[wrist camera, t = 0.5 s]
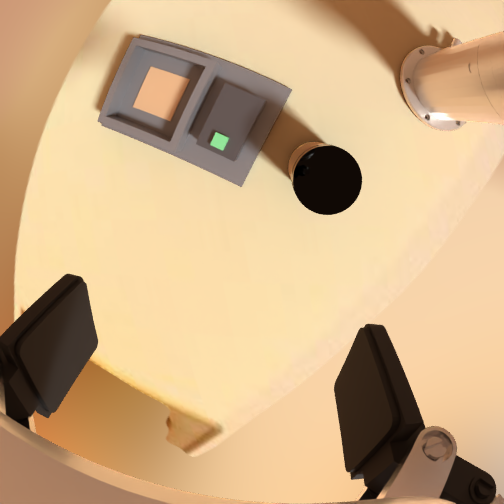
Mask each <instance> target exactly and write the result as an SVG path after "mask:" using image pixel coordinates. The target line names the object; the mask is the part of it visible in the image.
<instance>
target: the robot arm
mask: <svg viewBox="0 0 504 504" xmlns="http://www.w3.org/2000/svg"><path fill="white" fill-rule="evenodd" d="M405 80H406V81H407V83H406V81H405ZM400 82H401V88H402V91H403V95H404V97H405V100H406V102H407V104H408V105H409V107H410V109H411V110H412V112H413V113H414V114H415V115H416V116H417V118H419V119H420V120H421V121H422V122H423V123H424V124H426V125H428V126H429V127H431V128H434V129H436V130H442V131H453V130H457V129H459V128H461V127H462V126H463V125H464V124H465V123H466V122H467V121H469V122H482V123H492V124H501V125H504V31H503V32H499V33H495V34H492V35H488V36H485V37H482V38H479V39H475V40H472V41H469V42H466V43H463V44H462V42H461V41H460V40H459V39H456V38H454V39H453V41H452V43H451V46H450V47H447V48H444V49H441V48H439V47H435V46H421V47H418V48H416V49H414V50H412V51H411V52H410V53H409V54H408V55H407V56H406V57H405V59H404V61H403V63H402V66H401V70H400ZM425 117H426V119H425ZM97 345H98V338H97V334H96V330H95V325H94V321H93V316H92V311H91V306H90V301H89V296H88V290H87V285H86V283H85V282H84V281H83V279H82V277H80V276H76V275H72V274H66V275H64V276H63V277H62V278H61V279H60V280H59V281H58V282H56V283H55V284H54V285H53V286H52V287H51V288H50V289H49V290H48V291H46V292H45V293H44V294H43V295H42V296H41V297H40V298H39V299H38V300H37V301H36V302H35V303H33V304H32V305H31V306H30V307H29V308H28V309H27V310H26V311H25V312H24V313H23V314H22V315H21V316H20V317H19V318H18V319H17V320H16V321H15V322H14V323H13V324H12V325H11V326H10V327H9V328H8V329H7V330H6V331H5V332H4V333H3V334H2V335H1V336H0V504H287V503H264V502H251V501H241V500H233V499H226V498H219V497H212V496H207V495H201V494H196V493H191V492H186V491H182V490H177V489H173V488H169V487H165V486H161V485H158V484H154V483H151V482H147V481H144V480H140V479H138V478H134V477H131V476H128V475H126V474H122V473H120V472H117V471H114V470H112V469H109V468H106V467H104V466H101V465H99V464H96V463H94V462H92V461H89V460H87V459H85V458H82V457H80V456H78V455H76V454H74V453H71V452H69V451H68V450H66V449H64V448H62V447H60V446H58V445H56V444H54V443H52V442H50V441H48V440H46V439H45V438H43V437H41V436H39V435H38V434H36V430H35V424H34V419H33V413H34V411H35V410H36V411H37V413H39V414H41V415H43V416H45V417H46V418H49V416H50V415H51V413H54V412H55V411H56V410H57V409H58V407H59V405H60V404H61V402H62V401H63V399H64V397H65V396H66V394H67V392H68V391H69V389H70V388H71V386H72V384H73V383H74V381H75V380H76V378H77V377H78V375H79V374H80V372H81V370H82V369H83V368H84V366H85V364H86V363H87V361H88V360H89V359H90V357H91V356H92V354H93V353H94V351H95V350H96V348H97ZM334 392H335V397H336V398H335V399H336V404H337V411H338V418H339V424H340V431H341V438H342V445H343V453H344V461H345V468H346V471H347V472H350V474H351V479H352V480H353V479H362V478H364V483H365V488H364V489H363V490H362V492H361V493H360V494H359V496H358V497H357V498H356V500H355V501H352V502H340V503H339V502H338V503H317V504H504V498H502V496H501V495H500V494H498V495H497V496H495V494H496V484H495V481H494V479H493V478H492V476H491V475H489V474H488V473H487V472H485V471H483V470H481V469H480V468H478V467H476V466H474V465H472V464H471V463H469V462H467V461H466V460H464V459H462V458H460V457H458V456H457V455H456V452H457V446H456V441H455V439H454V437H453V436H452V435H451V434H450V432H448V431H447V430H445V429H444V428H441V427H437V426H431V427H427V428H425V425H424V422H423V419H422V417H421V414H420V411H419V408H418V406H417V403H416V400H415V398H414V395H413V392H412V390H411V387H410V385H409V382H408V380H407V378H406V375H405V372H404V370H403V368H402V365H401V363H400V361H399V358H398V356H397V354H396V351H395V349H394V347H393V344H392V342H391V340H390V338H389V336H388V333H387V331H386V329H385V327H384V326H383V325H375V324H366V325H365V327H364V328H360V329H359V331H358V333H357V336H356V338H355V341H354V343H353V345H352V347H351V350H350V352H349V354H348V356H347V358H346V361H345V363H344V365H343V367H342V369H341V371H340V374H339V376H338V378H337V379H336V382H335V386H334ZM312 504H316V503H312Z"/></svg>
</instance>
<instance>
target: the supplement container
mask: <svg viewBox="0 0 504 504" xmlns="http://www.w3.org/2000/svg"><path fill="white" fill-rule="evenodd" d="M288 170H289V175H290V178H291V181H292V185H293V189H294V191H295V194H296V196H297V198H298V199H299V201H300V202H301V203H302V204H303V205H304V206H305V207H306V208H308V209H309V210H311V211H313V212H315V213H318V214H323V215H332V214H337V213H340V212H342V211H344V210H346V209H347V208H349V207H350V206H351V205H352V204H353V203H354V202H355V200H356V199H357V197H358V195H359V193H360V190H361V185H362V175H361V170H360V168H359V165H358V163H357V162H356V160H355V159H354V158H353V157H352V155H350V154H349V153H348V152H347V151H345V150H343V149H341V148H339V147H336V146H333V145H327V144H324V143H320V142H307V143H304V144H302V145H300V146H299V147H297V148H296V149H295V150H294V152H293V153H292V155H291V157H290V159H289V164H288Z"/></svg>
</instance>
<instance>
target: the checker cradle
mask: <svg viewBox="0 0 504 504" xmlns="http://www.w3.org/2000/svg"><path fill="white" fill-rule="evenodd" d="M291 91H292V89H290V88H288V87H286V86H284V85H282V84H279V83H277V82H275V81H273V80H271V79H269V78H266V77H264V76H262V75H260V74H257V73H255V72H253V71H250V70H248V69H246V68H243V67H241V66H238V65H236V64H233V63H230V62H228V61H225V60H223V59H220V58H217V57H214V56H212V55H209V54H206V53H203V52H200V51H197V50H194V49H191V48H187V47H184V46H181V45H177V44H174V43H170V42H167V41H163V40H159V39H156V38H152V37H147V36H143V35H140V37H139V38H135V37H133V39H132V41H131V43H130V45H129V47H128V49H127V51H126V53H125V55H124V57H123V60H122V62H121V64H120V66H119V68H118V70H117V73H116V75H115V77H114V80H113V82H112V84H111V87H110V89H109V92H108V94H107V97H106V99H105V102H104V104H103V107H102V110H101V113H100V115H99V118H98V122H101V123H102V126H104V127H107V128H109V129H112V130H114V131H117V132H119V133H122V134H124V135H127V136H129V137H131V138H134V139H136V140H139V141H141V142H143V143H146V144H148V145H150V146H153V147H155V148H157V149H160V150H162V151H164V152H167V153H169V154H171V155H173V156H176V157H178V158H180V159H182V160H185V161H187V162H189V163H191V164H194V165H196V166H198V167H200V168H202V169H204V170H207V171H209V172H211V173H213V174H215V175H217V176H219V177H221V178H224V179H226V180H228V181H230V182H232V183H234V184H236V185H238V186H240V187H242V185H243V183H244V181H245V179H246V177H247V175H248V173H249V171H250V169H251V167H252V165H253V163H254V161H255V159H256V157H257V155H258V153H259V152H260V150H261V148H262V146H263V144H264V142H265V140H266V138H267V136H268V134H269V132H270V130H271V128H272V127H273V125H274V123H275V121H276V119H277V117H278V115H279V113H280V112H281V110H282V108H283V106H284V104H285V102H286V100H287V99H288V97H289V95H290V93H291Z"/></svg>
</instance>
